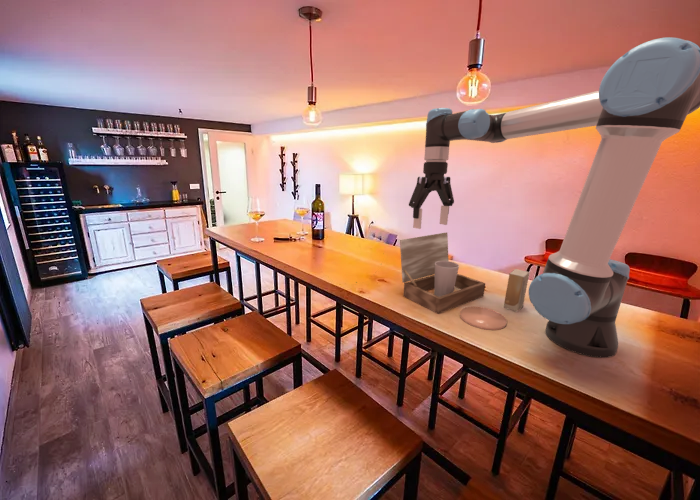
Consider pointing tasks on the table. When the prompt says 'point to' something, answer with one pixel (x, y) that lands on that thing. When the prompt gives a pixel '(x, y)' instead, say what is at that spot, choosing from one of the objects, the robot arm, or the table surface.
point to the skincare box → (516, 290)
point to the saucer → (483, 318)
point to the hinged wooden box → (421, 263)
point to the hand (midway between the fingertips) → (430, 226)
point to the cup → (445, 277)
